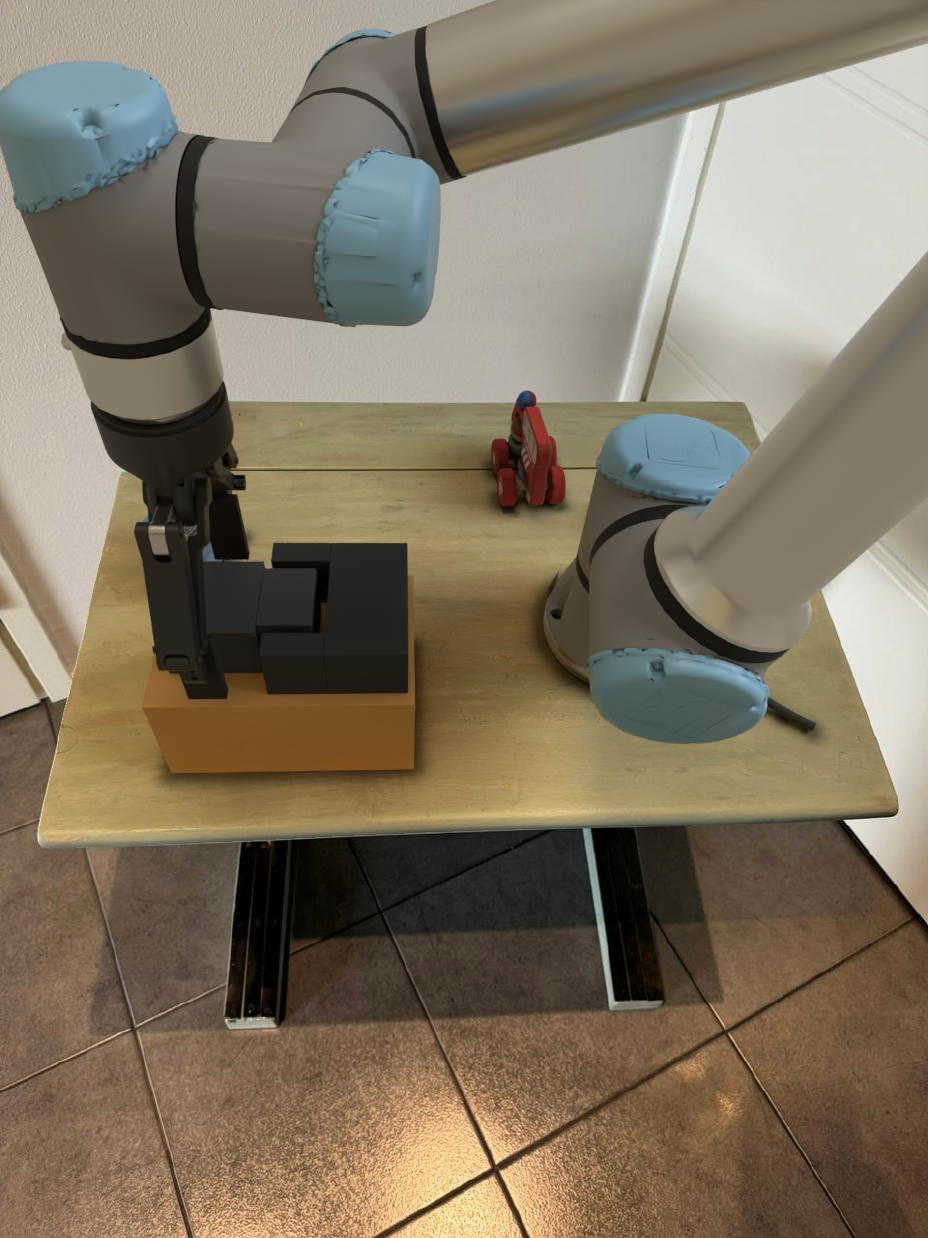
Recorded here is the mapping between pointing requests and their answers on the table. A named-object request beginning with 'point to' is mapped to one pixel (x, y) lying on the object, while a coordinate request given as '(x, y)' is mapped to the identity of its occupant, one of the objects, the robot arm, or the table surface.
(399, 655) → the orange and black block
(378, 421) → the table surface
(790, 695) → the table surface
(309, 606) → the black stepped block
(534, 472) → the toy fire truck
